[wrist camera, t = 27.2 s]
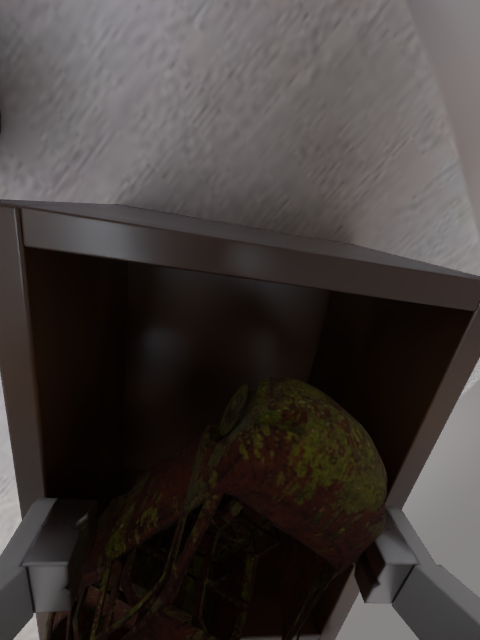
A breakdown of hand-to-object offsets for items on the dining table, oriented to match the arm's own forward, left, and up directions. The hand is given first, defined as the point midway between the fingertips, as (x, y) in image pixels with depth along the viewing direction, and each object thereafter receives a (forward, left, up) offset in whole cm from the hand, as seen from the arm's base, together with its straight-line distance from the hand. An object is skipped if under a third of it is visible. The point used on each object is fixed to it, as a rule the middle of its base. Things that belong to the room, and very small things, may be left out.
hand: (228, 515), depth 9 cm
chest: (0, 0, -9) cm, 9 cm away
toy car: (+1, 0, -2) cm, 3 cm away
